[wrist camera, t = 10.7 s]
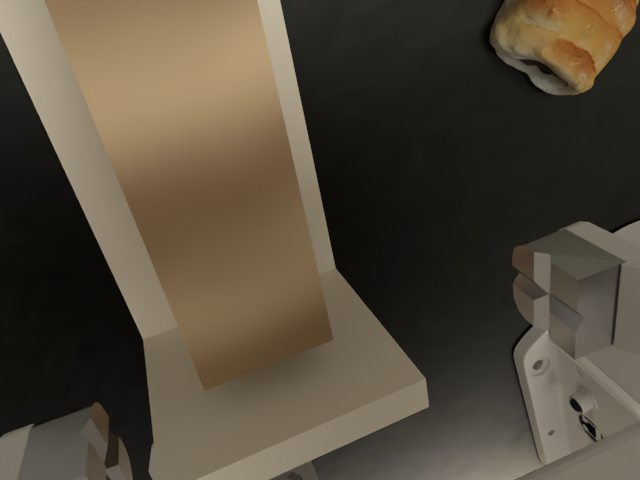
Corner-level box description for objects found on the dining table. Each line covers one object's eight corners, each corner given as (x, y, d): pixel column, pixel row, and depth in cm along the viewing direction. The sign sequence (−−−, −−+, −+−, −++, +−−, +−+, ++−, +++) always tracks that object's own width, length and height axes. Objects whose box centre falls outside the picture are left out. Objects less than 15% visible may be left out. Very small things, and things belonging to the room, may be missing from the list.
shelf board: (300, 288, 23) (333, 339, 20) (189, 329, 22) (204, 391, 18) (208, -78, 16) (235, -94, 13) (41, -45, 15) (22, -53, 12)
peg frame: (333, 282, 28) (429, 406, 20) (152, 350, 26) (174, 522, 18) (236, -171, 19) (344, -301, 10) (-65, -122, 16) (-246, -237, 8)
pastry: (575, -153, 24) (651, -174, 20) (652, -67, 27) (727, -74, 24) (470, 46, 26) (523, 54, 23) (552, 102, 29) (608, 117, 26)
